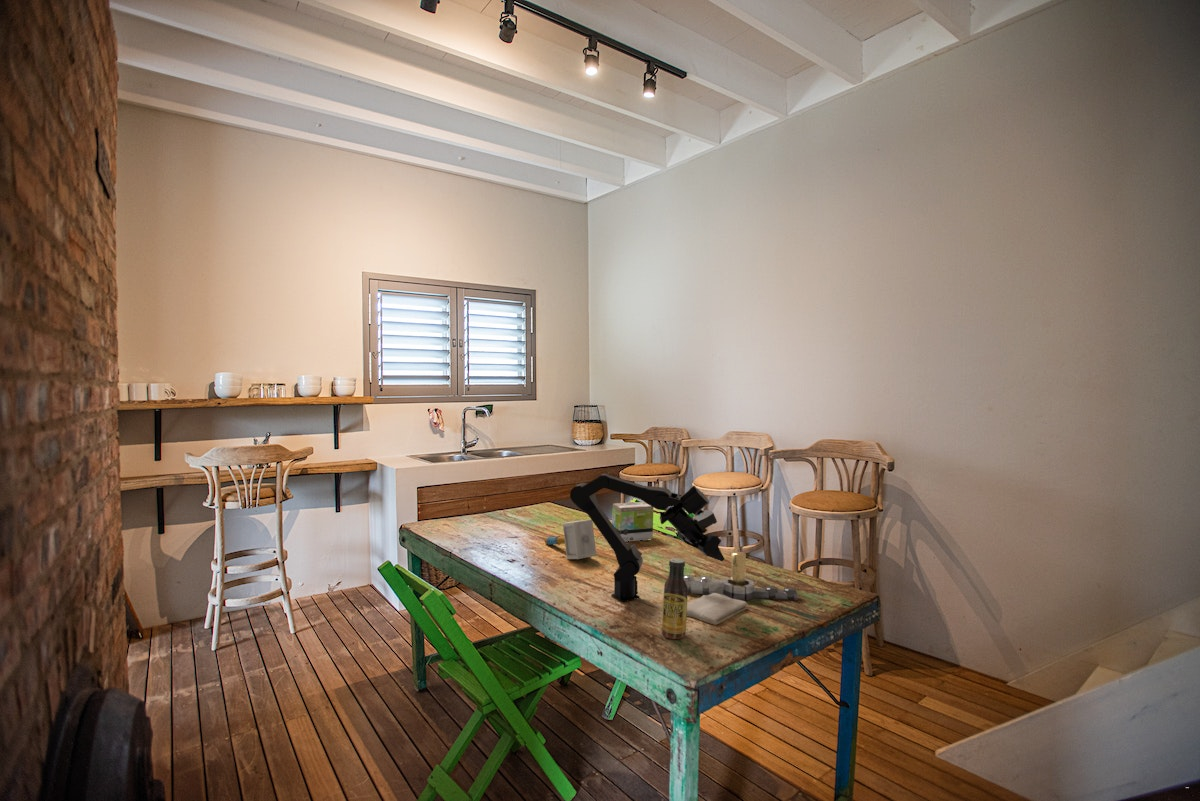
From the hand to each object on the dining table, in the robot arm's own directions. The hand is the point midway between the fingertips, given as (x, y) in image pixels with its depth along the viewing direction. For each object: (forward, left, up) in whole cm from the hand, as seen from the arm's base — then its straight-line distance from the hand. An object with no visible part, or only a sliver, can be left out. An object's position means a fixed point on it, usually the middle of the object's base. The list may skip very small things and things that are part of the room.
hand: (715, 555), depth 180 cm
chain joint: (+8, -2, -13) cm, 15 cm away
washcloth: (-8, -8, -14) cm, 18 cm away
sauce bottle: (-29, -13, -13) cm, 34 cm away
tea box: (+21, +69, -13) cm, 73 cm away
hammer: (-13, +67, -13) cm, 69 cm away
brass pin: (+7, -2, -13) cm, 15 cm away
